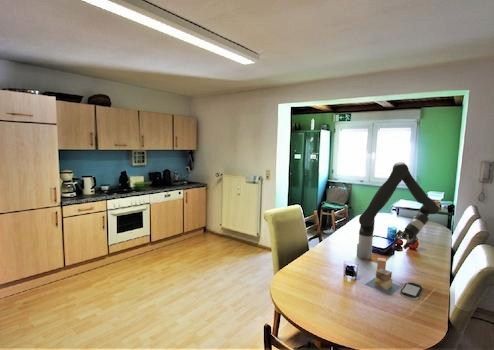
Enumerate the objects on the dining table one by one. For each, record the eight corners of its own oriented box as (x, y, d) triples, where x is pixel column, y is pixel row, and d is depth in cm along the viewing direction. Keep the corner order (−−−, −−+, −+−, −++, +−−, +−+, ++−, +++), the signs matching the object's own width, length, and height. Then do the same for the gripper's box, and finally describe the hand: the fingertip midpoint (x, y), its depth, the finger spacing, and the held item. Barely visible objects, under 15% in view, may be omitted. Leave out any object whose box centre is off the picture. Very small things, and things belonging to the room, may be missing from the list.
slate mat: (364, 285, 160) (364, 284, 160) (376, 278, 170) (376, 276, 170) (390, 296, 149) (390, 295, 149) (402, 287, 159) (402, 286, 158)
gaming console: (416, 303, 144) (417, 299, 143) (397, 297, 150) (398, 292, 149) (424, 289, 158) (424, 285, 158) (406, 284, 164) (407, 280, 164)
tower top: (376, 277, 159) (376, 271, 159) (380, 274, 163) (381, 268, 163) (386, 281, 155) (387, 275, 154) (391, 278, 159) (391, 271, 158)
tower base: (374, 285, 160) (374, 277, 159) (379, 281, 164) (380, 274, 164) (386, 289, 155) (387, 282, 154) (391, 286, 159) (392, 278, 159)
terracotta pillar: (376, 275, 174) (377, 260, 173) (376, 272, 178) (377, 257, 177) (384, 276, 172) (386, 261, 171) (384, 273, 176) (385, 258, 175)
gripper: (402, 220, 184) (387, 238, 182) (420, 226, 171) (404, 246, 169) (408, 227, 186) (393, 245, 184) (427, 234, 172) (411, 253, 171)
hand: (398, 245), depth 177 cm, fingers open, 8 cm apart
